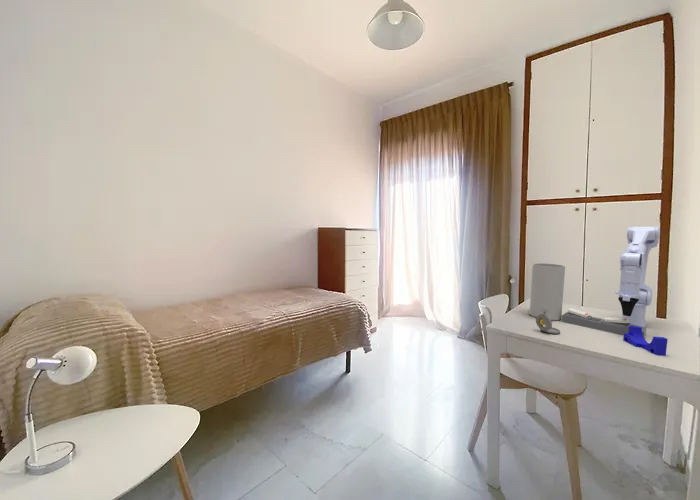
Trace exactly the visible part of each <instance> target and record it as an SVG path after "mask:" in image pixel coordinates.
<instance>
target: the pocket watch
mask: <svg viewBox="0 0 700 500" xmlns="http://www.w3.org/2000/svg"><path fill="white" fill-rule="evenodd" d="M542 309H544V308H542ZM542 309H541V310H542ZM545 310H546V309H545ZM545 310H544V311H543V310H542V311H543V313H544V314H539V315H538V316H537V317H536V318H535V323H536V326H537V327H538V328H539V329H540V331H542V332H544V333H547V334H552V335H558V334H560V333H561V330H560V329H558V328H557V327H556V328H555V327H552V326H553V322H552V321H551V319H550V318H549V316H547V315H546V314H545V313H546V312H545ZM546 311H547V310H546Z"/></svg>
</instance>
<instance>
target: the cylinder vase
mask: <svg viewBox="0 0 700 500" xmlns="http://www.w3.org/2000/svg"><path fill="white" fill-rule="evenodd" d="M531 269H532V270H531V283H530V284H531V286H530V299H529V300H530V301H529V302H530V303H529V315H530V316H531V317H534V318H535V319H536V317H537V316H538V315H539V314H544V313H543V311H544V310H545V309H546V310H547V311H546V310H545V312H546V313H545V314H546V315H547V316H549V318H550V319H551V322H552V321H554V322H556V321H560V320H562V315H563V301H564V289H565V287H564V286H565V273H566V272H565V271H566V266H565V265H562V264H556V263H542V262H541V263H532V268H531ZM542 308H544V309H542ZM541 309H542V310H543V311H542V310H541Z"/></svg>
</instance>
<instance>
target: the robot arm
mask: <svg viewBox="0 0 700 500" xmlns="http://www.w3.org/2000/svg"><path fill="white" fill-rule="evenodd" d="M660 234H661V228H660V226H631V225H630V226H629V227H627V230H626V239H627V243H628V244H627V246H626V248H625V251H624V253H621V254H620V258H619V265H620V268H619V269H620V279H619V291H618V290H617V291H615V292H614V293H615V294H616V295H618V302H619V303H620V306H621V318H627V319H628V320H629V321H628V323H631V324H632V325H637V326H642V327H647V322H646V312H647V311H646V310H647V307H649V306H651V305H652V300H653V289H652V287H650V285H647V284H646V283H645V281H646V280H645V279H646V274H647V267H648V261H649V254H650V252H651V251H652V249H655V248H656V247H657V246H658V245H659V240H660V236H661V235H660Z"/></svg>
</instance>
